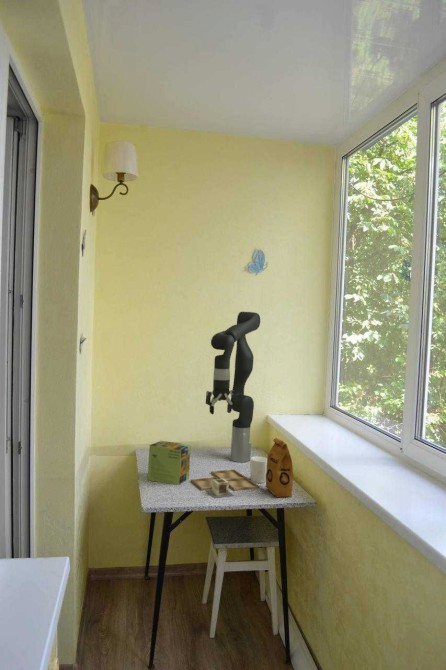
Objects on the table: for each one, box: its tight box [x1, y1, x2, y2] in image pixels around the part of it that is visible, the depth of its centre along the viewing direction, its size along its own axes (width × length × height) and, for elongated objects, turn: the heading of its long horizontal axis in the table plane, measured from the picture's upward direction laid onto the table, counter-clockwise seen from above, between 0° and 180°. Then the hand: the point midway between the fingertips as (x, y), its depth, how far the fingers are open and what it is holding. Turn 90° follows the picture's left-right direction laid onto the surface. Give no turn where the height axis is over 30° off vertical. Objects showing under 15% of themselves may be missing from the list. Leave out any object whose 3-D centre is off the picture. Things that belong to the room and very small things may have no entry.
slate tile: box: [204, 490, 235, 499], centre depth 210 cm, size 9×9×1 cm
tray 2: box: [210, 469, 246, 479], centre depth 233 cm, size 12×12×1 cm
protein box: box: [147, 440, 192, 486], centre depth 224 cm, size 10×15×16 cm
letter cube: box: [212, 479, 229, 496], centre depth 210 cm, size 5×5×5 cm
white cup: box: [249, 456, 267, 484], centre depth 230 cm, size 8×8×10 cm
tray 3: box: [225, 476, 260, 492], centre depth 222 cm, size 12×12×1 cm
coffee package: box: [265, 437, 294, 498], centre depth 216 cm, size 10×12×22 cm
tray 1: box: [190, 476, 218, 492], centre depth 220 cm, size 12×12×1 cm
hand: (220, 413), depth 236 cm, fingers open, 8 cm apart
